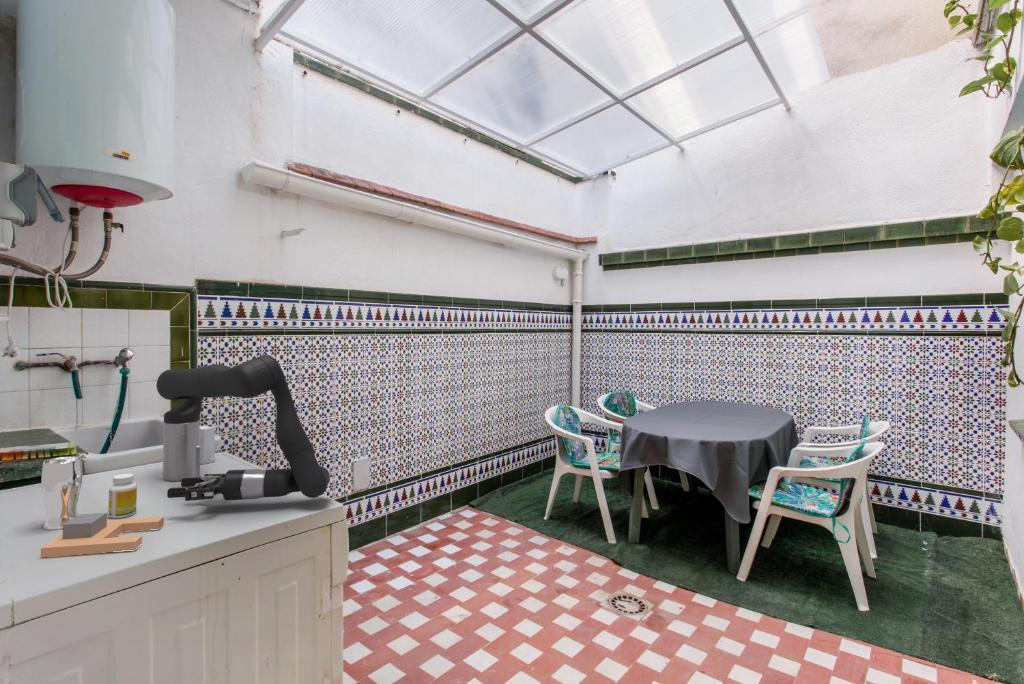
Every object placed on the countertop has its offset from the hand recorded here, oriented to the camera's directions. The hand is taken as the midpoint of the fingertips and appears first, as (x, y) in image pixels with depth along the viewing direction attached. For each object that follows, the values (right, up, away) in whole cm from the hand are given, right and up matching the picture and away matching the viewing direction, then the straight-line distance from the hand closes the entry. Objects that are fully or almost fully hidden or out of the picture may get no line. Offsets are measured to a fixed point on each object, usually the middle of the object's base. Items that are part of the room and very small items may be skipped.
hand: (175, 487), depth 123 cm
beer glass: (-19, -6, -10) cm, 23 cm away
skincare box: (-22, -5, +46) cm, 51 cm away
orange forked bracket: (-3, -6, -17) cm, 18 cm away
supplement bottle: (-11, -6, -3) cm, 13 cm away
